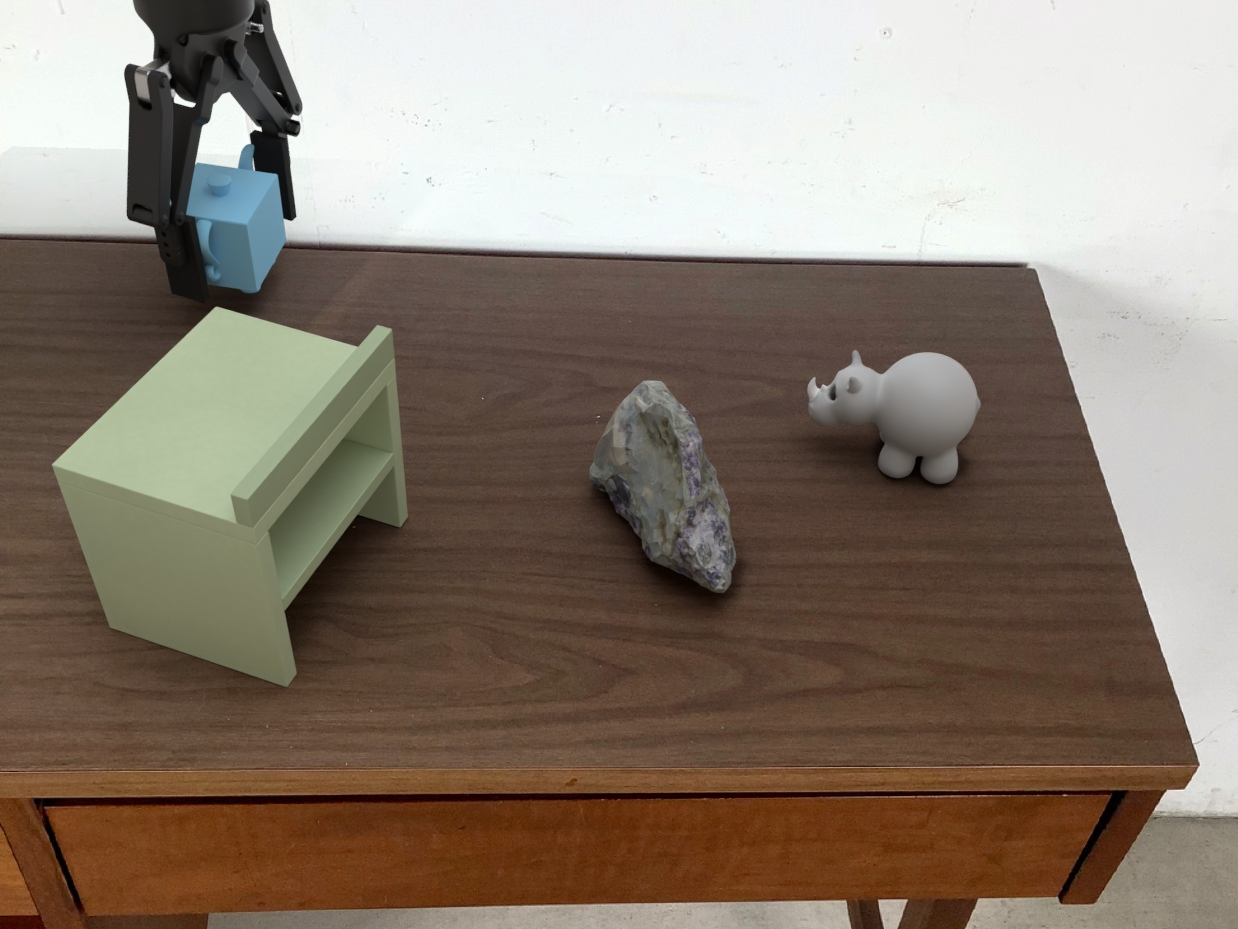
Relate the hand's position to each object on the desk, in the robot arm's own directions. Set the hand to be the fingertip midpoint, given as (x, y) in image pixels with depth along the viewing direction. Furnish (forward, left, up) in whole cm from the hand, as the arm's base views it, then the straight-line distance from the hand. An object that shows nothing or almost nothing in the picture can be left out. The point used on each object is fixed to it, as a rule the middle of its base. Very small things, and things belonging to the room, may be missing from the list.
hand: (236, 254), depth 97 cm
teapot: (0, 0, -1) cm, 1 cm away
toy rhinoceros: (+50, +3, -4) cm, 51 cm away
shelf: (+16, -25, -4) cm, 30 cm away
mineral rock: (+38, -12, -4) cm, 40 cm away
